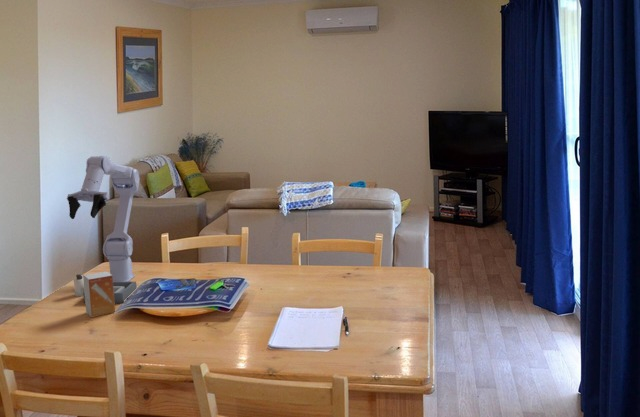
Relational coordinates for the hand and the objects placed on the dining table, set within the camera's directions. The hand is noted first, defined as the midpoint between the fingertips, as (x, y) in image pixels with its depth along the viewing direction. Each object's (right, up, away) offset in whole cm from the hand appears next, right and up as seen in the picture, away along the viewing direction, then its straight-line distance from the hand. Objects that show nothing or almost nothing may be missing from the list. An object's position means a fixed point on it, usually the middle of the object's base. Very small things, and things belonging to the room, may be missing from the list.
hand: (81, 216), depth 244 cm
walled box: (+6, -29, +13) cm, 32 cm away
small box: (+8, -32, -4) cm, 33 cm away
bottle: (-6, -28, +16) cm, 33 cm away
